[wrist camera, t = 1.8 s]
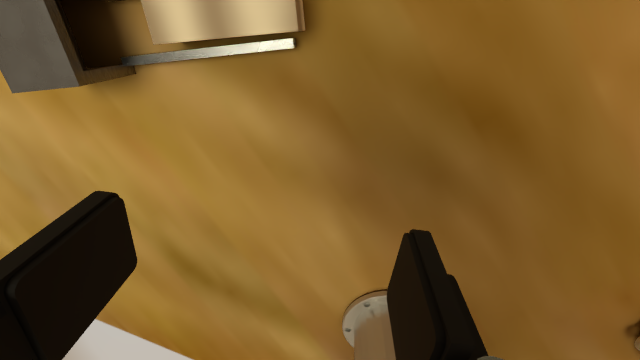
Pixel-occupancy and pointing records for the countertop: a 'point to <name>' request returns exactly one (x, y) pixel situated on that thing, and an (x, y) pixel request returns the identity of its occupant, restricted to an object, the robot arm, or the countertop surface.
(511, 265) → the countertop surface
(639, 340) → the butterfly valve
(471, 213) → the countertop surface
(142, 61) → the guide channel
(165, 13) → the beige rectangular block
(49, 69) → the end cap
